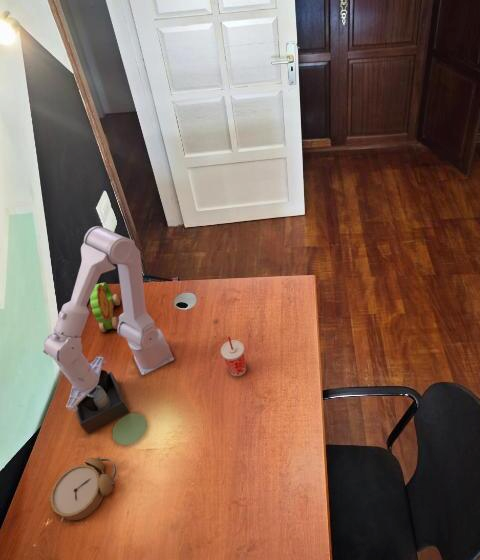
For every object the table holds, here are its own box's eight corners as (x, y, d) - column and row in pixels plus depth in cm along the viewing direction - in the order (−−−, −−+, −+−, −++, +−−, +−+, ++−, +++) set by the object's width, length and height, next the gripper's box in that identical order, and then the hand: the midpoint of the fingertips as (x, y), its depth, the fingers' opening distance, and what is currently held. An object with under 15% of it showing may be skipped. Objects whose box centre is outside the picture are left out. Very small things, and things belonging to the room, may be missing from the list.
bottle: (108, 394, 128) (96, 376, 122) (113, 407, 125) (101, 389, 118) (91, 403, 126) (78, 385, 120) (95, 416, 123) (82, 399, 117)
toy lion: (104, 302, 154) (86, 268, 143) (121, 299, 154) (104, 264, 144) (101, 340, 143) (81, 306, 132) (120, 336, 143) (101, 302, 132)
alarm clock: (41, 489, 109) (97, 442, 113) (54, 495, 113) (108, 449, 117) (59, 529, 102) (118, 477, 106) (72, 533, 106) (129, 483, 110)
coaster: (140, 408, 125) (140, 407, 125) (151, 433, 120) (151, 433, 119) (108, 425, 122) (108, 424, 122) (118, 452, 117) (118, 451, 117)
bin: (117, 382, 131) (111, 371, 128) (130, 412, 124) (123, 401, 121) (78, 402, 128) (69, 391, 124) (88, 434, 121) (80, 424, 117)
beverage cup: (222, 375, 130) (212, 343, 120) (232, 357, 134) (223, 325, 124) (243, 381, 128) (234, 349, 118) (252, 363, 132) (245, 331, 122)
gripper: (79, 344, 120) (99, 374, 129) (46, 394, 110) (70, 423, 120) (104, 348, 118) (122, 378, 128) (72, 399, 109) (95, 428, 118)
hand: (99, 400), depth 124 cm, fingers closed on bottle, 5 cm apart
